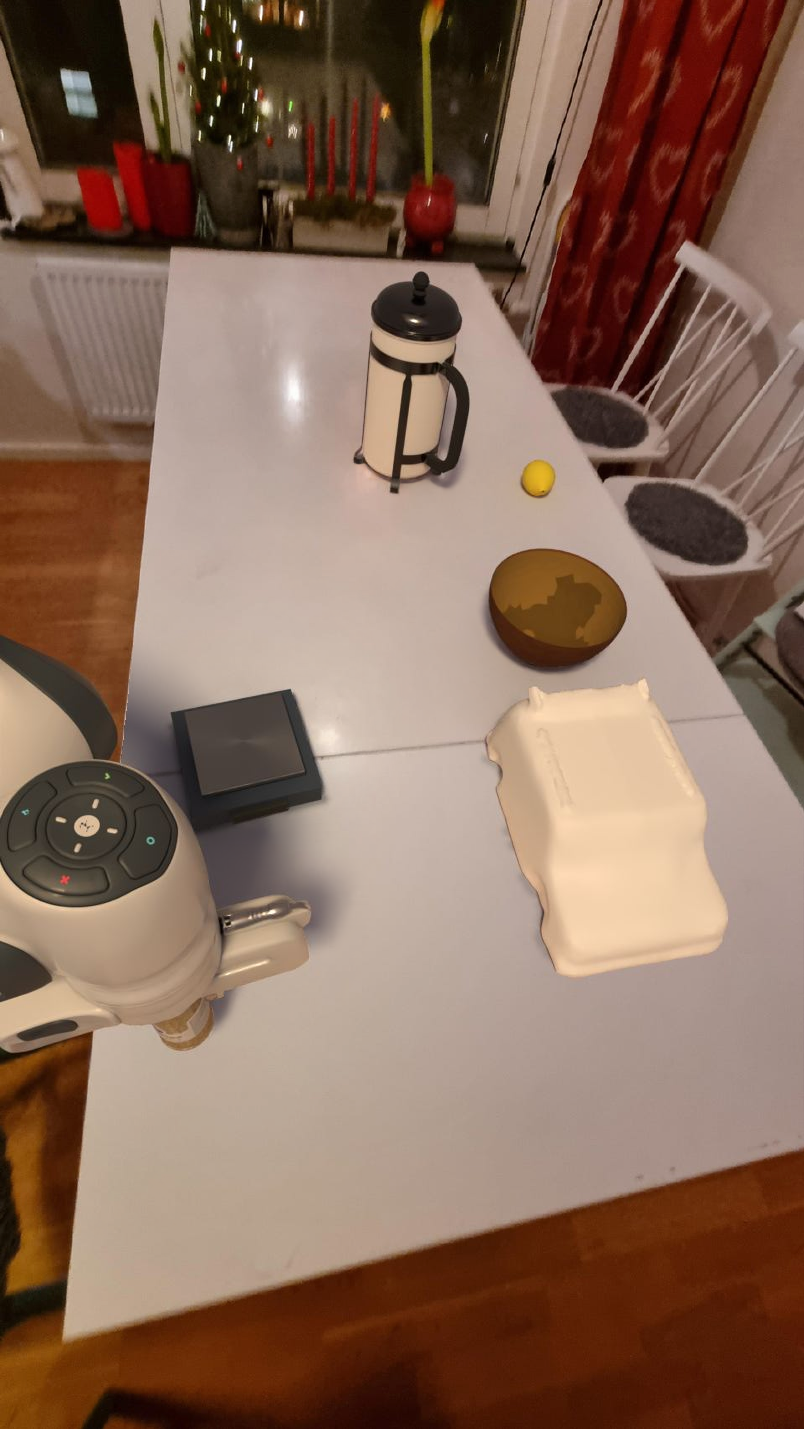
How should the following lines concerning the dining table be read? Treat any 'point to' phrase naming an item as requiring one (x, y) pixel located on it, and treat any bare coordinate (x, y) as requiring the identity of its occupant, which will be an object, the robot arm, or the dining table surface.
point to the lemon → (538, 477)
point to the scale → (250, 799)
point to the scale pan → (243, 745)
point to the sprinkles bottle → (187, 1026)
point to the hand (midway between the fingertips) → (176, 1000)
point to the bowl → (555, 607)
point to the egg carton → (607, 829)
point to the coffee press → (412, 381)
